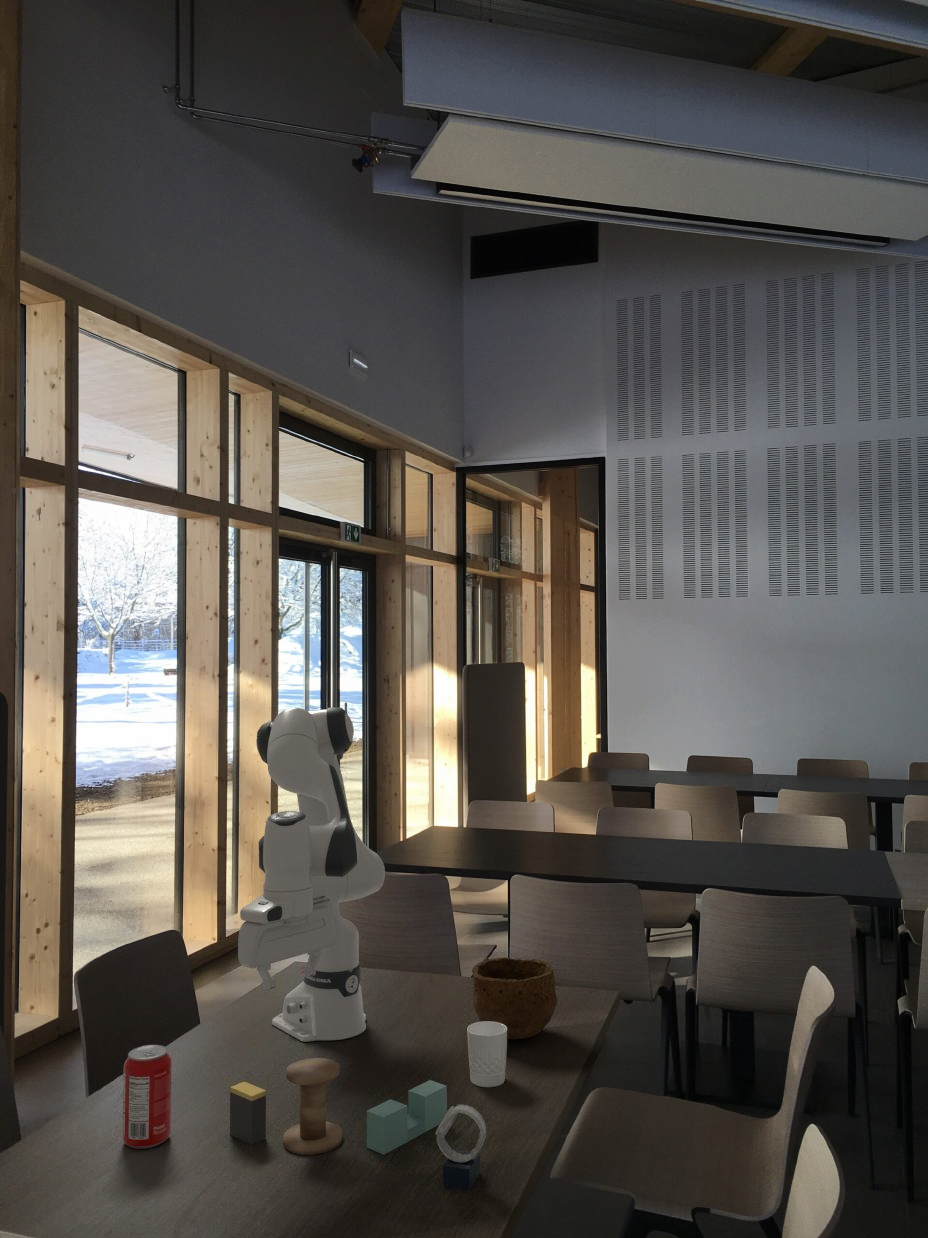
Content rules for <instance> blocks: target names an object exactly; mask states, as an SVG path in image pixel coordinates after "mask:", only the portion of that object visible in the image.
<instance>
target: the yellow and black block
mask: <svg viewBox="0 0 928 1238" xmlns="http://www.w3.org/2000/svg"><path fill="white" fill-rule="evenodd" d="M229 1091H230V1092H229V1105H230V1106H229V1135H230V1136H232V1137H235V1138H237V1139H239V1140H241V1141H243V1142H244V1143H247V1144H249V1145H251V1146H252V1145H255V1144H256V1143H259V1142H261V1141H263V1140H265V1139H267V1136H266V1135H267V1134H266V1133H267V1132H266V1131H267V1090H266V1089H263V1088H261V1087H259V1086H256V1085H254V1084H251V1083H249V1082H246V1081H242V1082H239V1083H237V1084H235V1085H232V1086H230V1087H229Z"/></svg>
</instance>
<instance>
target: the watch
mask: <svg viewBox="0 0 928 1238" xmlns="http://www.w3.org/2000/svg"><path fill="white" fill-rule="evenodd" d="M459 1113H460V1114H463V1115H466V1116H468V1117H469V1118H471V1119H473V1120H474V1122H475V1123H476V1125H478V1126H477V1127H478V1129H479V1134H478V1139H477V1142H476V1145H475V1148H473V1149H472V1150H471V1151H469V1150H462V1149H456V1148H453V1149H452V1148H451V1146H450V1145H449V1144H448V1142H447V1140H446V1138H445V1137H446V1136H447V1134H448V1133H449V1130H451V1128H452V1126H453V1124H454V1122H455V1121H456V1119H457V1117H458V1114H459ZM434 1134H435V1136H436V1143H437V1146H438V1147H439V1150H440V1152H441V1153H442V1154H443V1155H444V1156H445V1157H446V1158H447V1159H446V1160H445V1162H444V1163H443V1164H442V1187H446V1188H452V1189H457V1190H458V1189H459V1190H464V1191H470V1190H471V1189H472V1188H473V1185H474V1184H475V1182H476V1180H477V1178H478V1177H479V1175H480V1174H481V1152H480V1151H481V1148H482V1147H483V1145H484V1143H485V1140H486V1137H487V1125H486V1122H485V1120H484V1118H483V1115H482V1114H481V1113H480V1112H479V1111H478V1110H477V1109H475V1107H473V1106H470V1105H467V1104H457V1105H455V1106H453V1105H452V1106H450V1107H449V1109H447V1113H446V1115H445V1116H444V1118H443V1119H442V1121H441V1123H440V1124H439V1125H438V1126H437V1129H436V1131H435V1133H434Z"/></svg>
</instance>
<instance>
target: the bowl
mask: <svg viewBox="0 0 928 1238" xmlns="http://www.w3.org/2000/svg"><path fill="white" fill-rule="evenodd" d="M471 972H472V978H473V980H472V982H473V992H472V1005H473V1008H474V1011H475V1013H476V1015H477V1018H478V1019H479V1022H483V1021H491V1022H498V1023H501V1024H504V1025H505V1026H506V1027H507V1040H523V1039H529V1038H531V1037H534V1036H536V1035H538V1034H539V1033H541V1032H542V1031H543V1030H544V1029H545V1028H546V1026H547V1025H548V1024H549V1023H550V1021H551V1020H552V1017H553V1016H554V1013H555V1010H556V1007H557V1005H558V1003H559V1002H558V1001H559V1000H558V997H557V993H556V979H555V978H556V977H555V972H554V968H553V967H552V965H551V964H550V963H548V961H544V960H538V959H533V958H532V959H521V958H511V957H509V958H508V957H506V956H504V957H496V958H494V957H493V958H490V959H486V960H483V961H479V962H478V963H477V964H475V965H474V966H473V967H472V970H471Z"/></svg>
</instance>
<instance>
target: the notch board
mask: <svg viewBox="0 0 928 1238" xmlns="http://www.w3.org/2000/svg"><path fill="white" fill-rule="evenodd" d="M447 1089H448V1087H447V1085H446V1084H443V1083H440V1082H436V1081H434V1080H431V1079H429V1080H427V1081H426V1082H423V1083H421V1084H419V1085H417V1086H415V1087H412V1088H411V1089H408V1091H407V1092H408V1093H407V1094H408V1095H407V1098H408V1100H407V1102H408V1105H407V1104H405V1103H402V1102H399V1101H396V1100H393V1099H388V1100H385V1101H384V1102H381V1103H380V1104H377V1105H376V1106H374V1107H372V1108H369V1109H367V1110H366V1148H367V1149H369V1150H372V1151H374V1152H377V1153H378V1154H381V1155H386V1154H388V1153H390V1152H392V1151H393V1150H396V1149H397V1148H399V1147H401V1146H403V1145H405V1144H407V1143H408V1142H410V1141H413V1139H416V1138H417V1137H420V1136H422V1135H423V1134H425V1133H426V1132H429V1131H431V1130H432V1129H434V1128H435V1127H438V1126H439V1124H440V1123H441V1121H442V1119H443V1118H444V1116H445V1115H446V1113H447V1112H448V1097H447V1096H448V1093H447V1091H448V1090H447Z"/></svg>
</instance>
